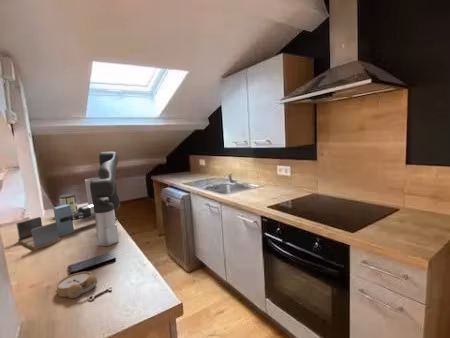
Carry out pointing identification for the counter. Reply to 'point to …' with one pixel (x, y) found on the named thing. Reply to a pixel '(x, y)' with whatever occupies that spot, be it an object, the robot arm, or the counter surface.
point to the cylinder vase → (90, 191)
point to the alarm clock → (76, 284)
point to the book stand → (30, 243)
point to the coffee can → (69, 201)
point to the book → (62, 213)
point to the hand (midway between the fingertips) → (58, 220)
